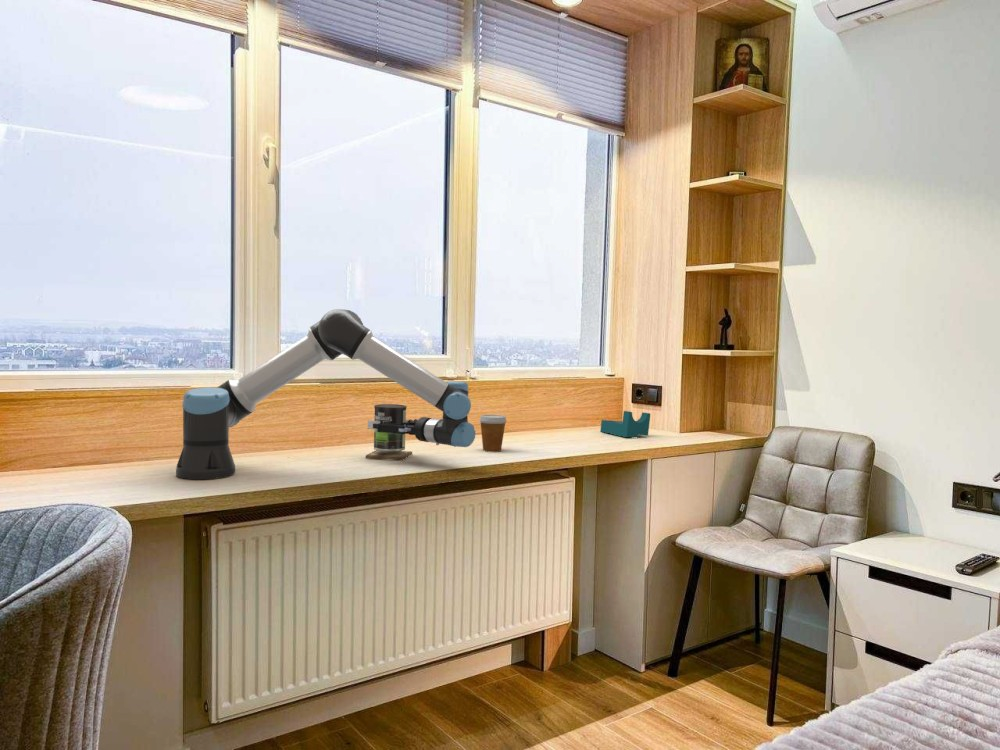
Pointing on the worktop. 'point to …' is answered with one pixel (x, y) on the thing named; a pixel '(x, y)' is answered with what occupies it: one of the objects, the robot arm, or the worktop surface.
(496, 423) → the disposable coffee cup
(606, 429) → the teal l-shaped bracket
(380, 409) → the coffee can
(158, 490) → the worktop surface
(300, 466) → the worktop surface
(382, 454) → the trivet
